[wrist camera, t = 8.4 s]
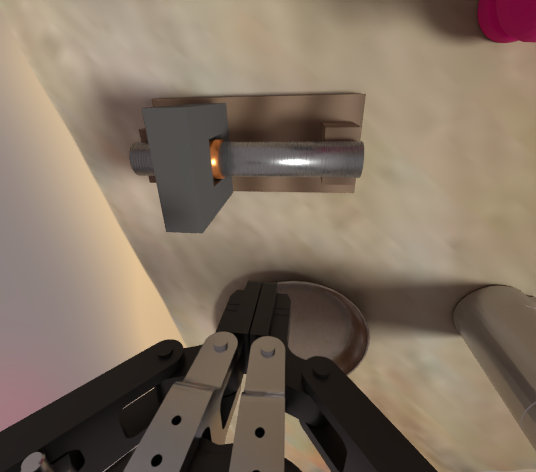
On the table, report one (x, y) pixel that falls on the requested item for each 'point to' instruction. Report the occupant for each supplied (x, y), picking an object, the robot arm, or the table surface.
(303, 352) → the plant saucer
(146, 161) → the pipe
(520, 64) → the table surface
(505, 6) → the pepper mill
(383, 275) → the table surface
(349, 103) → the pipe stand
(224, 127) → the collar
